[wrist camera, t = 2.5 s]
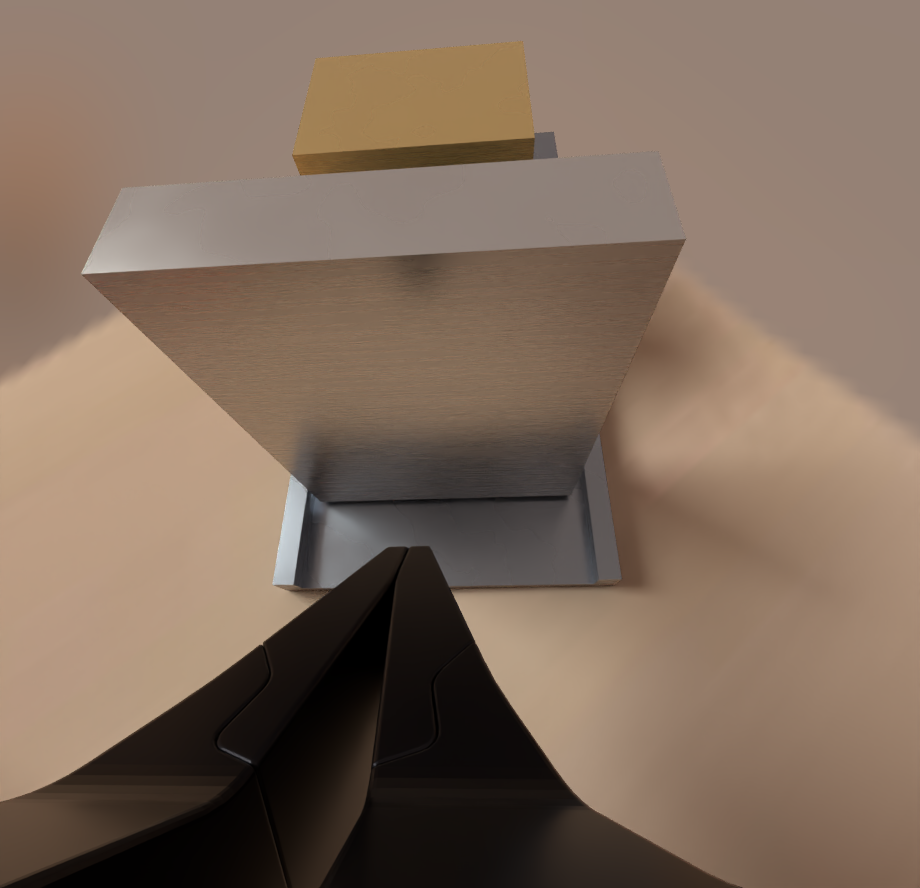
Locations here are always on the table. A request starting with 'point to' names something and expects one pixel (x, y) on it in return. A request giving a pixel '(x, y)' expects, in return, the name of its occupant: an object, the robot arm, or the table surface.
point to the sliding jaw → (405, 313)
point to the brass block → (416, 110)
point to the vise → (459, 529)
